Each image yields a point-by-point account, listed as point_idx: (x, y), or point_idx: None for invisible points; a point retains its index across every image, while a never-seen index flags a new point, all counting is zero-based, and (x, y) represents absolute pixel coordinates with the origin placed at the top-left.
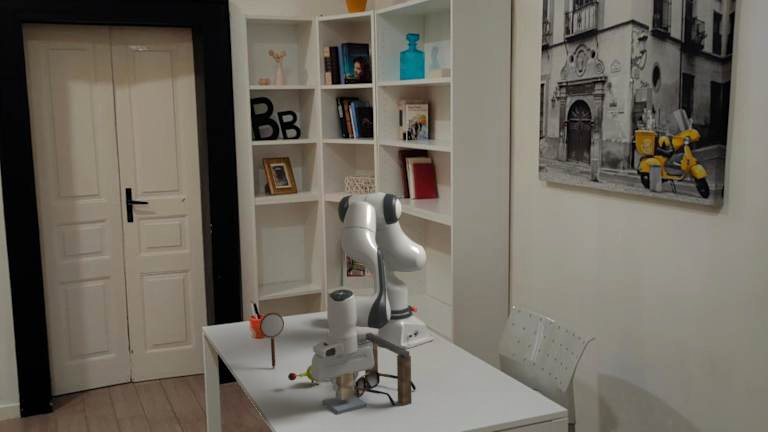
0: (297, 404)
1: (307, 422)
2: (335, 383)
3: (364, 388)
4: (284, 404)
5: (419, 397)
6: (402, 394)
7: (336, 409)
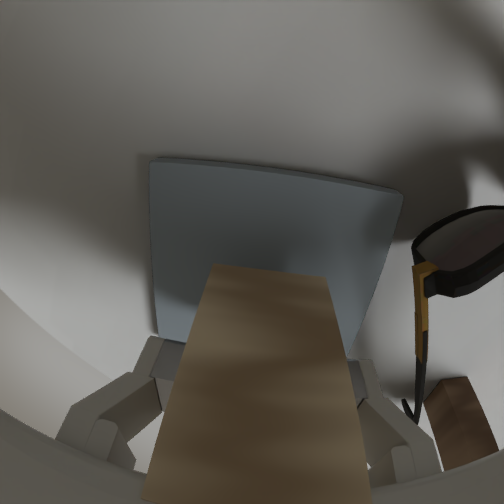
0: (42, 87)
1: (36, 304)
2: (136, 426)
3: (423, 347)
4: (8, 60)
5: (495, 375)
6: (436, 433)
7: (161, 334)
